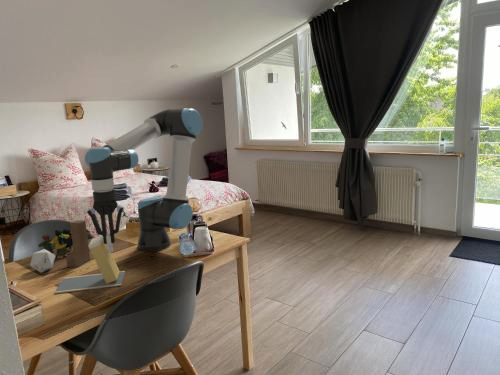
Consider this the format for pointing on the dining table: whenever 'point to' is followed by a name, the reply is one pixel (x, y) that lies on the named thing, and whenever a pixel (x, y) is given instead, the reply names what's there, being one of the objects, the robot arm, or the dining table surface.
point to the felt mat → (87, 283)
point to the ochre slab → (104, 259)
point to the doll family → (59, 242)
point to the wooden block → (78, 244)
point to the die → (42, 260)
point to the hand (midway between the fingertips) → (110, 251)
